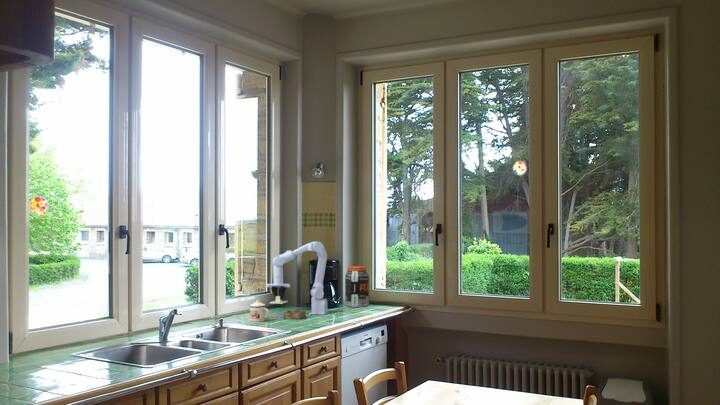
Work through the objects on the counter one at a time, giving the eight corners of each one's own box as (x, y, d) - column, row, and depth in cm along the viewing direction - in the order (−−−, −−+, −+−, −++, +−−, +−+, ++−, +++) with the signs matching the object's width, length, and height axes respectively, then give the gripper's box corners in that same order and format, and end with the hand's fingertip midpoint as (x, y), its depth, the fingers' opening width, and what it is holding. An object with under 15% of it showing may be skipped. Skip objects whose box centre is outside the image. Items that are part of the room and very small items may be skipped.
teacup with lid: (246, 321, 374) (246, 301, 374) (255, 319, 382) (255, 299, 382) (264, 322, 368) (263, 301, 369) (273, 320, 377) (272, 300, 377)
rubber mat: (288, 315, 396) (288, 314, 396) (283, 317, 387) (283, 316, 387) (274, 314, 398) (274, 314, 398) (269, 317, 389) (268, 316, 389)
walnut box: (305, 317, 387) (305, 310, 387) (300, 319, 377) (299, 312, 377) (290, 316, 390) (289, 310, 390) (283, 319, 380) (283, 312, 380)
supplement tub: (360, 308, 422) (360, 267, 422) (340, 306, 430) (340, 267, 431) (373, 305, 435) (373, 266, 436) (354, 303, 444) (353, 265, 444)
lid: (287, 302, 396) (287, 295, 396) (282, 303, 388) (282, 297, 388) (274, 301, 398) (274, 295, 398) (269, 303, 390) (269, 296, 390)
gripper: (264, 277, 391) (264, 299, 391) (287, 277, 387) (287, 300, 387) (269, 276, 398) (269, 298, 398) (291, 276, 394) (291, 298, 394)
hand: (278, 299), depth 393 cm, fingers closed on lid, 3 cm apart
